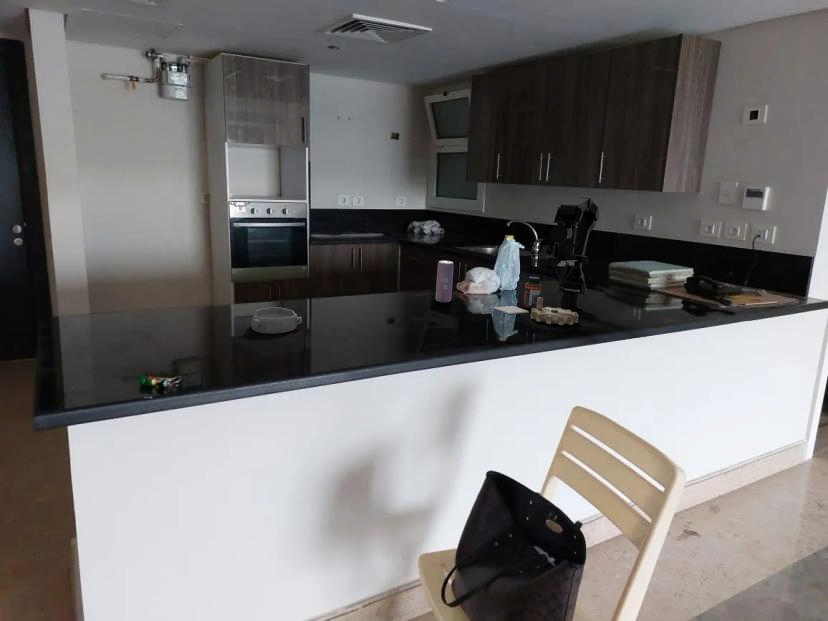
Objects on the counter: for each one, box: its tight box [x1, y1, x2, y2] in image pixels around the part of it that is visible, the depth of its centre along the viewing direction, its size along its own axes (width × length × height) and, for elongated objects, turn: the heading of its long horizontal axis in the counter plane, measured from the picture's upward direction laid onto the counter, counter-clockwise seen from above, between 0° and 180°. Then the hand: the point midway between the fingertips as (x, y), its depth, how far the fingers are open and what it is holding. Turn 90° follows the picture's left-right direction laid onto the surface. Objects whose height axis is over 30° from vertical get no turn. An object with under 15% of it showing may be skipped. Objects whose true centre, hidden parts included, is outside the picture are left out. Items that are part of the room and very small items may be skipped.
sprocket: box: [530, 296, 579, 326], centre depth 196 cm, size 16×16×7 cm
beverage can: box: [435, 260, 454, 303], centre depth 216 cm, size 6×6×15 cm
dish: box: [250, 306, 303, 335], centre depth 168 cm, size 14×14×5 cm
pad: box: [493, 305, 529, 315], centre depth 208 cm, size 9×9×1 cm
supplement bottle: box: [523, 276, 542, 309], centre depth 215 cm, size 6×6×11 cm
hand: (561, 284), depth 202 cm, fingers closed
